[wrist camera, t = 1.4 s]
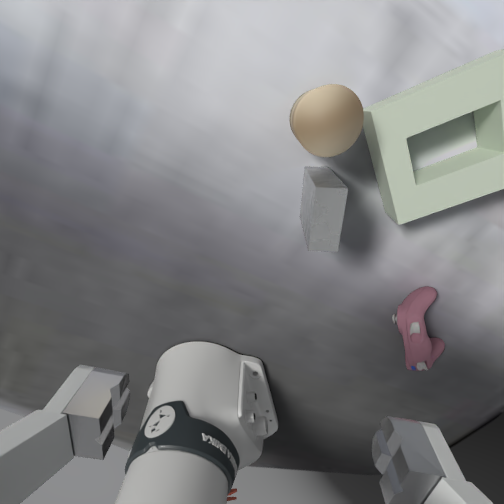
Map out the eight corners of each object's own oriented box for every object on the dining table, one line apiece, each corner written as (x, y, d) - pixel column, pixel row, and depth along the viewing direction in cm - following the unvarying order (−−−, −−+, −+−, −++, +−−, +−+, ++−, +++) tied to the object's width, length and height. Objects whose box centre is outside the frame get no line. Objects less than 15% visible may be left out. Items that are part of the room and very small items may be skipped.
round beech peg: (347, 132, 30) (371, 141, 23) (299, 153, 32) (308, 167, 24) (332, 79, 29) (353, 71, 21) (282, 103, 30) (285, 102, 22)
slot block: (505, 169, 31) (536, 177, 27) (385, 212, 34) (398, 225, 30) (494, 51, 27) (529, 42, 23) (358, 110, 30) (370, 111, 26)
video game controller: (395, 282, 39) (386, 320, 34) (436, 282, 37) (433, 322, 32) (407, 340, 43) (401, 381, 38) (445, 343, 40) (444, 388, 35)
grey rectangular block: (328, 167, 32) (348, 188, 24) (322, 217, 34) (337, 252, 26) (304, 166, 32) (315, 187, 24) (299, 216, 34) (308, 250, 26)
